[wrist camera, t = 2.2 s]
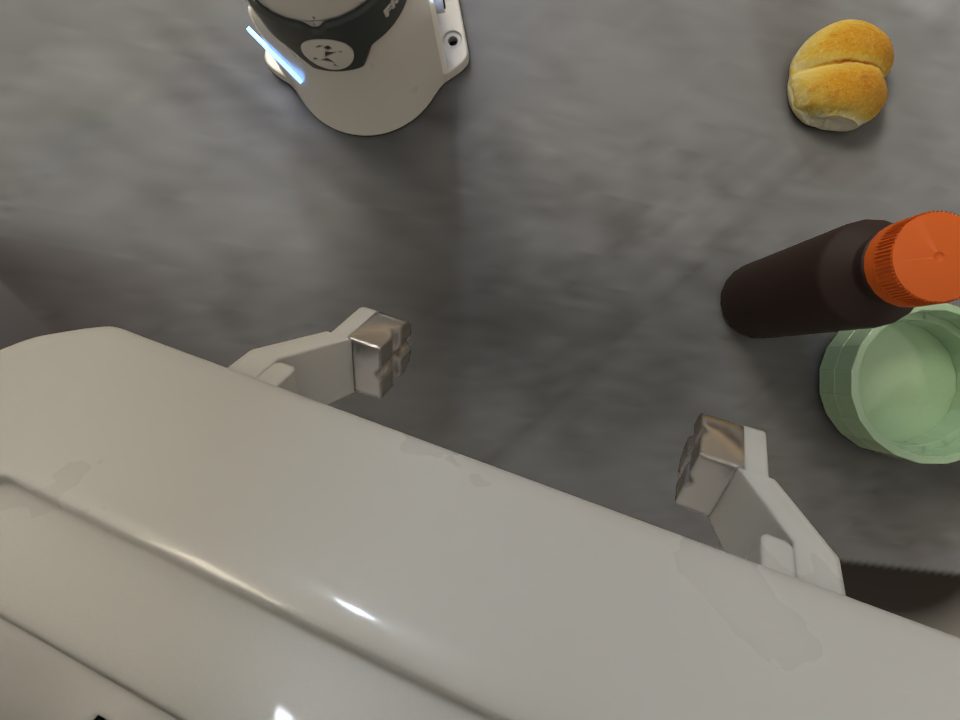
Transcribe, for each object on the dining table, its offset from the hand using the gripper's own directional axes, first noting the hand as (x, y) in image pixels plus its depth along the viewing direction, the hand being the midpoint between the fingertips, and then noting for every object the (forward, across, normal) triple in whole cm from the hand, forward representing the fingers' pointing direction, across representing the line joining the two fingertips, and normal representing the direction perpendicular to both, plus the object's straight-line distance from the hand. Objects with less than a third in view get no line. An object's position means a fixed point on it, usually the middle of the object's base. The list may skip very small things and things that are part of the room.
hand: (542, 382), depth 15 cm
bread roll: (+50, -12, -2) cm, 51 cm away
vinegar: (+37, -12, +14) cm, 41 cm away
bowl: (+37, -25, +18) cm, 48 cm away
